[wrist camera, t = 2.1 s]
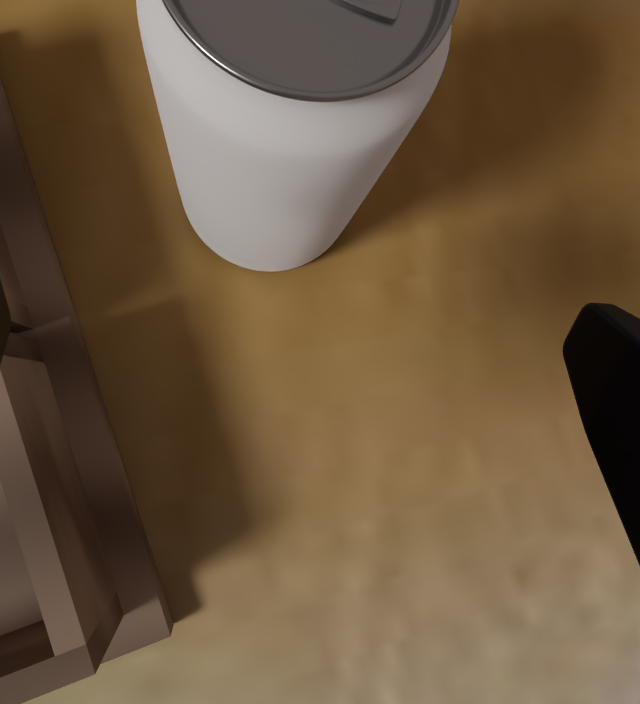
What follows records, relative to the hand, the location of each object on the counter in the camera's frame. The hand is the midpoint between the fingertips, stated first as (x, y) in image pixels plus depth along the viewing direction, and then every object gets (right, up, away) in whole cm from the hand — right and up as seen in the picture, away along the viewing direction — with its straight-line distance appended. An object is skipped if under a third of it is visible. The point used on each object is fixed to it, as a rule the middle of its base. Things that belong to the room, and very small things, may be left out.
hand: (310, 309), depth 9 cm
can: (-2, +5, +13) cm, 14 cm away
